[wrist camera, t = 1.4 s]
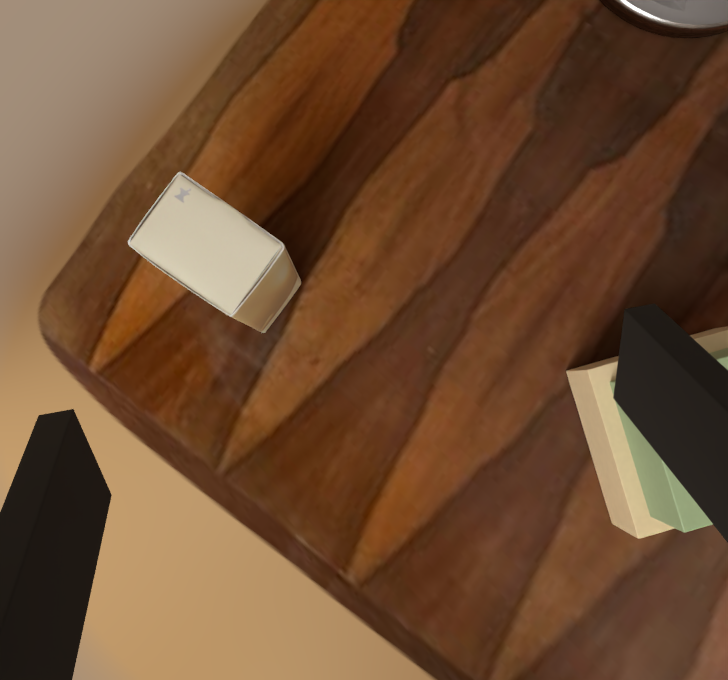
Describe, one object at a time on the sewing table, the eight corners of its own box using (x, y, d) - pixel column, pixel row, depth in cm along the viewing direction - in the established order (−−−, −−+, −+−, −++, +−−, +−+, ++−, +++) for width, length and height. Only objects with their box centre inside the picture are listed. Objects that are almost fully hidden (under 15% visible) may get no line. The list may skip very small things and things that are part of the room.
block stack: (565, 370, 42) (613, 368, 34) (714, 328, 42) (797, 315, 34) (611, 523, 42) (671, 557, 34) (762, 479, 42) (857, 503, 34)
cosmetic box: (186, 280, 42) (116, 240, 30) (226, 226, 43) (173, 164, 30) (268, 338, 42) (230, 321, 30) (308, 283, 42) (287, 243, 30)
